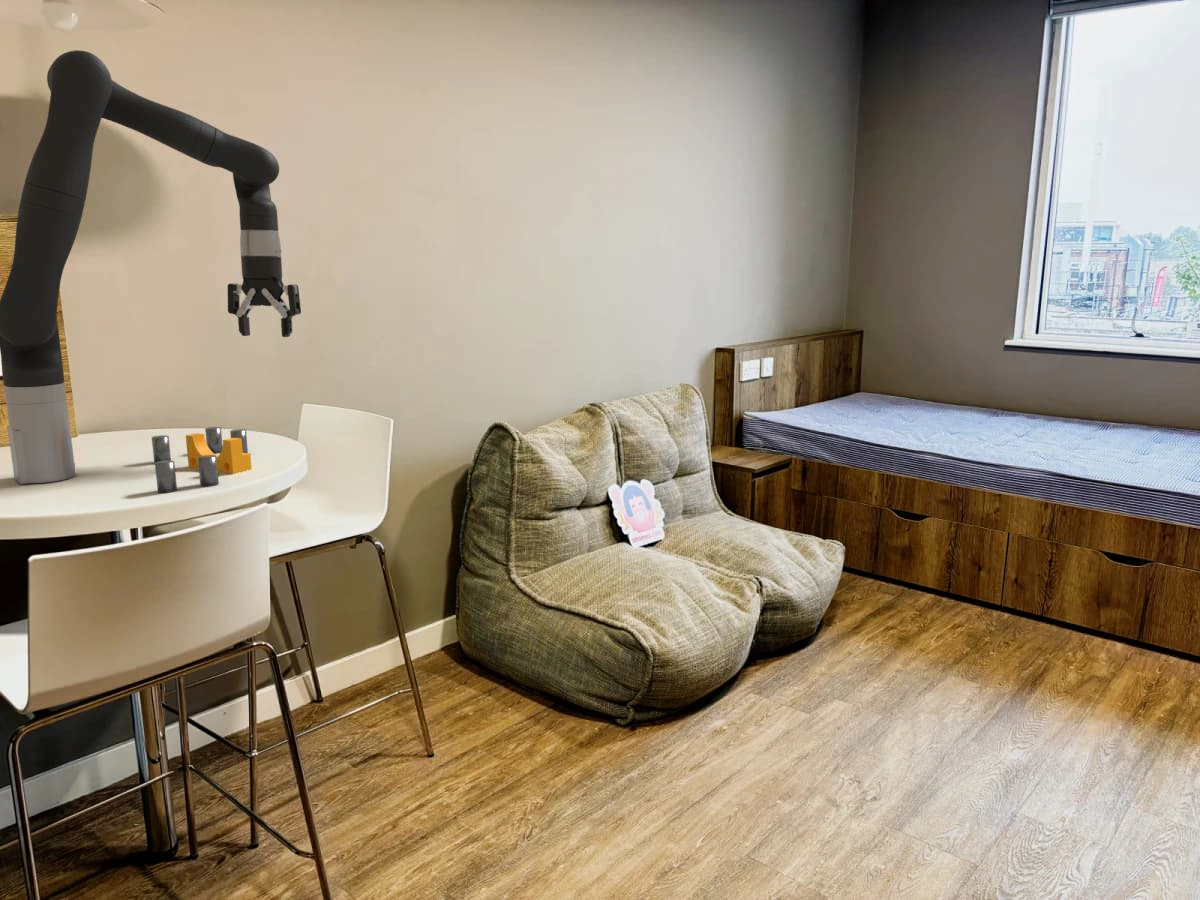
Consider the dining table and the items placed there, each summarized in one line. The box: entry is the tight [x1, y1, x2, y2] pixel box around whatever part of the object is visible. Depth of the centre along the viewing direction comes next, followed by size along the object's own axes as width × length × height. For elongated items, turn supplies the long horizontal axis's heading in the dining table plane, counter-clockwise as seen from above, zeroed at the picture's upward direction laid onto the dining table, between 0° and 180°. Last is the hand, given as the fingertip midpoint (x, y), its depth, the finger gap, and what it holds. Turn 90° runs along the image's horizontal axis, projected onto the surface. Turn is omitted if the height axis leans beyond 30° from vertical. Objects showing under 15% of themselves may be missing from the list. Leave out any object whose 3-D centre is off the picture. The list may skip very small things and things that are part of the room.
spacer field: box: [151, 426, 249, 494], centre depth 171 cm, size 23×31×5 cm
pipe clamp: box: [185, 432, 253, 475], centre depth 171 cm, size 12×4×6 cm, turn 63°
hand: (266, 336), depth 182 cm, fingers open, 8 cm apart
